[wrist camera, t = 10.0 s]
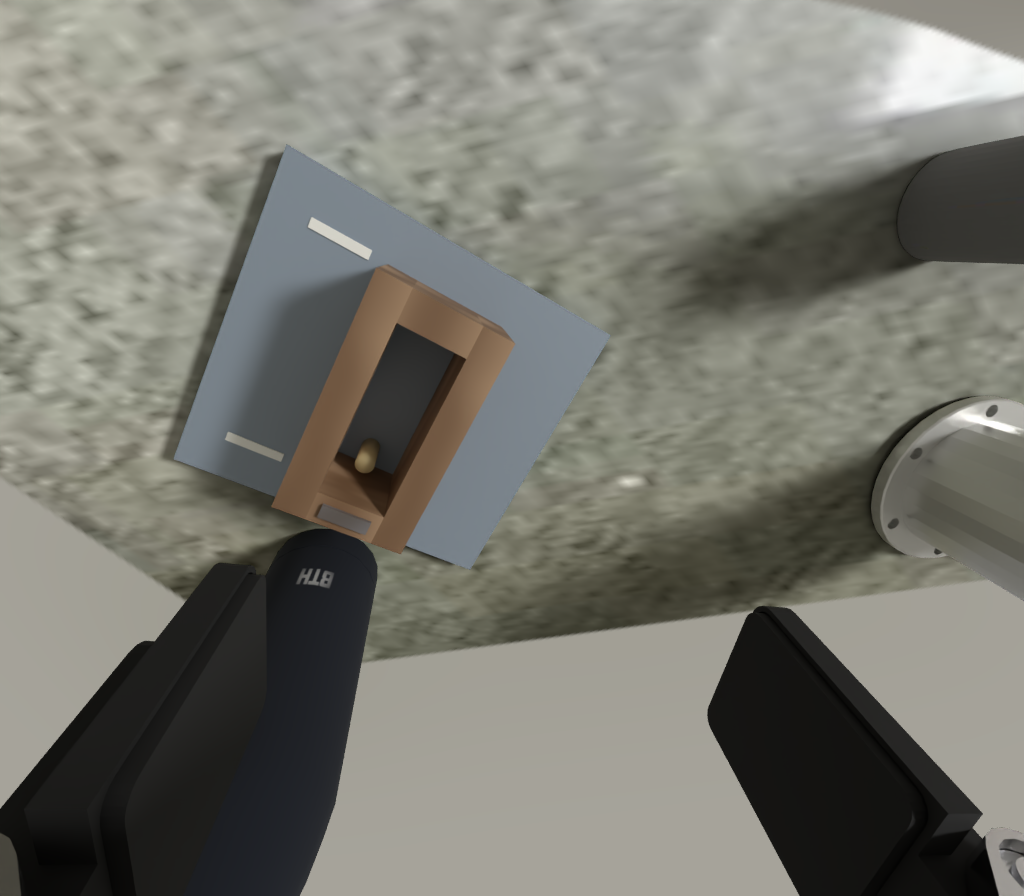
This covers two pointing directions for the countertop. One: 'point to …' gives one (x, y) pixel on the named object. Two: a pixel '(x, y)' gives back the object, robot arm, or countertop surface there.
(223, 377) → the board
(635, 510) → the countertop surface
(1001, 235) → the bottle
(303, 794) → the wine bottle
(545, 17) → the countertop surface
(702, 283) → the countertop surface
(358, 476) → the frame
